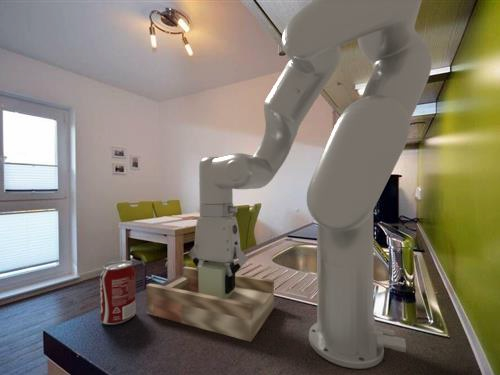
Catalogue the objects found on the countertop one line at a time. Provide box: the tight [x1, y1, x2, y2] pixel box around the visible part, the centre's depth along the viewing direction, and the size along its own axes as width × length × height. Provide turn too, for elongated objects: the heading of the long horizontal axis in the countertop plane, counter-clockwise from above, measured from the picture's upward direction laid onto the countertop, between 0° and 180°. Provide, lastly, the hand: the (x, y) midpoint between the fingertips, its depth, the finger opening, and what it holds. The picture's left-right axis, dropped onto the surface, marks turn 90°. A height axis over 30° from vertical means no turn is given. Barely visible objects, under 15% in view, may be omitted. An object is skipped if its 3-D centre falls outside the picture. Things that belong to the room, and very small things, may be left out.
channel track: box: [145, 266, 275, 343], centre depth 57 cm, size 26×14×6 cm, turn 66°
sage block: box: [198, 261, 235, 299], centre depth 56 cm, size 6×6×7 cm
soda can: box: [99, 260, 137, 326], centre depth 54 cm, size 7×7×12 cm
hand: (217, 288), depth 56 cm, fingers closed on sage block, 6 cm apart
